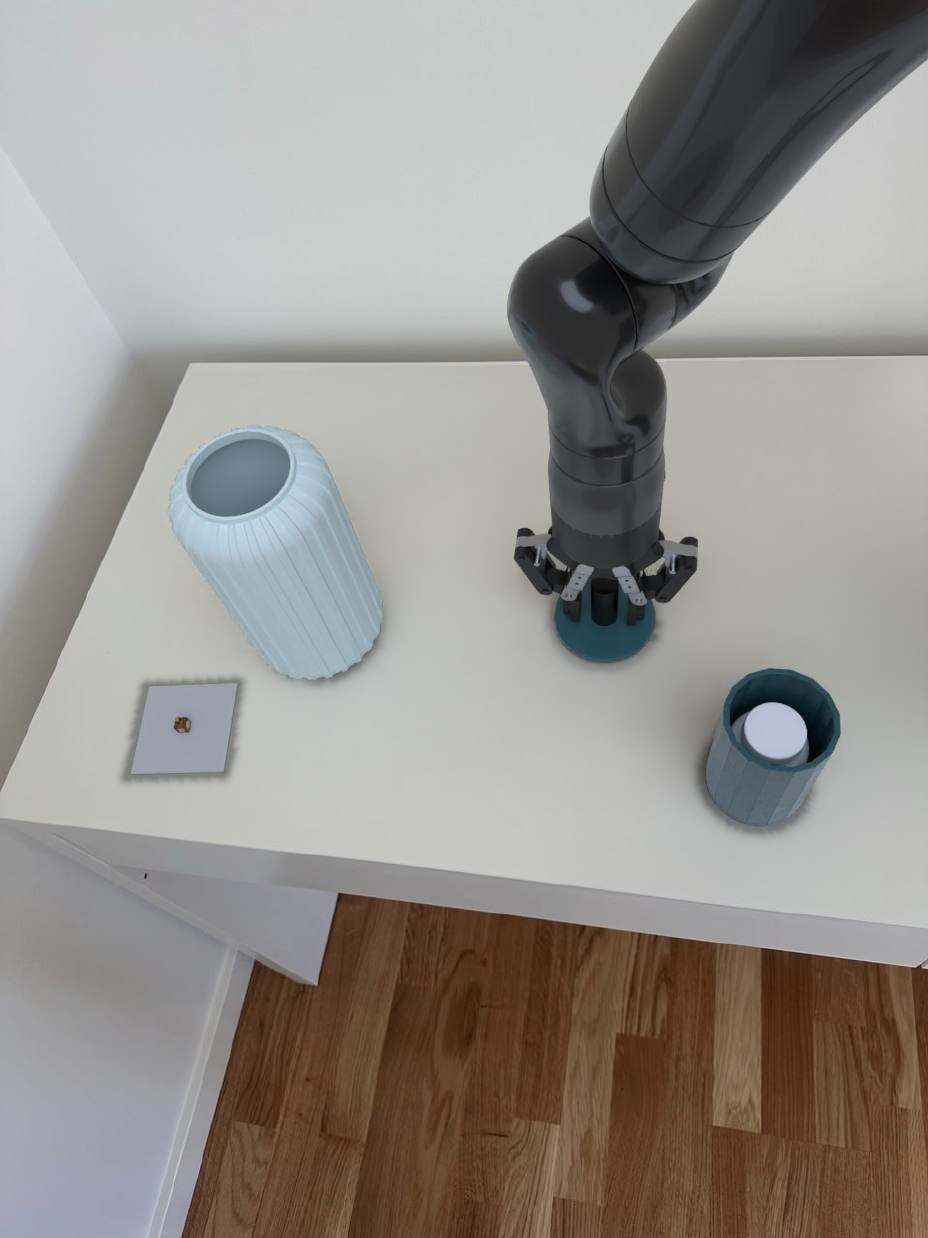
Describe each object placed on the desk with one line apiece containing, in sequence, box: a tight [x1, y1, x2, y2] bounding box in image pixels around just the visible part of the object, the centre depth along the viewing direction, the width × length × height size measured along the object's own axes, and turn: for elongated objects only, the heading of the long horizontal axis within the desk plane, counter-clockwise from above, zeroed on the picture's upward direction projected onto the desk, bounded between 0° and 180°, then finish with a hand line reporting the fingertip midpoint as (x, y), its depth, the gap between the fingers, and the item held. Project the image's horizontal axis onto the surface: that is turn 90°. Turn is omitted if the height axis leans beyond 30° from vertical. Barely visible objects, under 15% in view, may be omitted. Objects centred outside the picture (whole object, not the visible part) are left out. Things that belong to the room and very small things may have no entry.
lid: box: [553, 578, 656, 663], centre depth 74 cm, size 8×8×6 cm
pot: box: [705, 667, 842, 827], centre depth 64 cm, size 7×7×12 cm
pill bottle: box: [731, 702, 809, 767], centre depth 64 cm, size 6×5×10 cm
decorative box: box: [130, 682, 238, 775], centre depth 76 cm, size 8×8×2 cm
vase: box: [167, 424, 384, 681], centre depth 70 cm, size 12×12×22 cm
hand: (604, 613), depth 76 cm, fingers open, 4 cm apart
